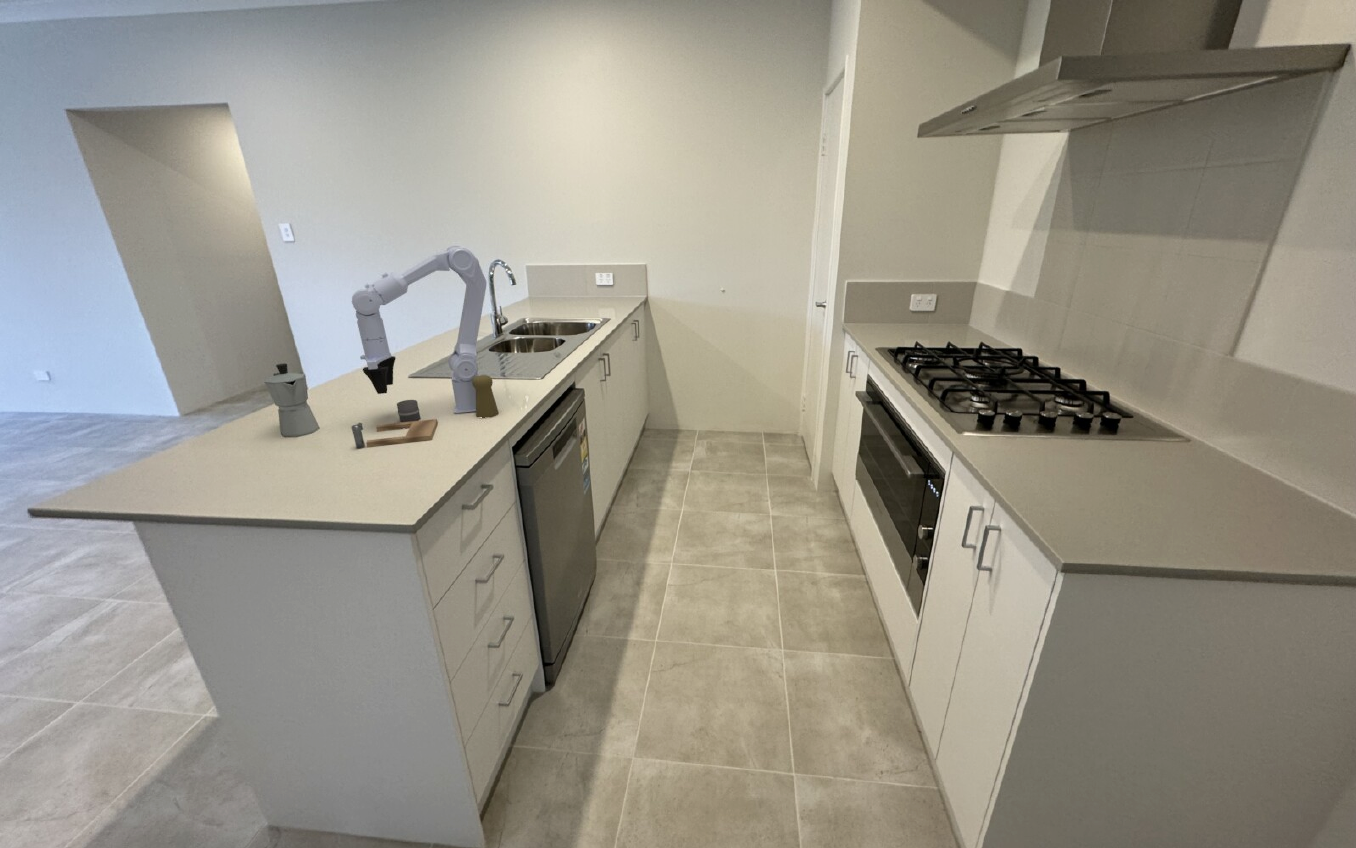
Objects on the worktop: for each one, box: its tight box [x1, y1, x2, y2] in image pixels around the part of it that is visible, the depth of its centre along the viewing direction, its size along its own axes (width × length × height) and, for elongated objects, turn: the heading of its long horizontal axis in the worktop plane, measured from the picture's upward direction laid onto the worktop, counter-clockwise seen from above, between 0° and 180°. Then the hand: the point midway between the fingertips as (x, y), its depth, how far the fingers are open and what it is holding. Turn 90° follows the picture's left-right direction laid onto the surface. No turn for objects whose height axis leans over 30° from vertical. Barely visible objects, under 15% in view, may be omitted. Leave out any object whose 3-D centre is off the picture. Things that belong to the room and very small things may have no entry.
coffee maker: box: [264, 363, 321, 439], centre depth 141 cm, size 15×9×18 cm, turn 47°
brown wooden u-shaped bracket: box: [365, 418, 439, 448], centre depth 140 cm, size 14×12×1 cm
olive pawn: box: [472, 374, 499, 419], centre depth 151 cm, size 6×6×11 cm
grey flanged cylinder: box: [396, 399, 421, 423], centre depth 149 cm, size 5×5×5 cm
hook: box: [351, 422, 366, 450], centre depth 133 cm, size 2×5×6 cm, turn 16°
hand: (385, 388), depth 145 cm, fingers open, 7 cm apart
